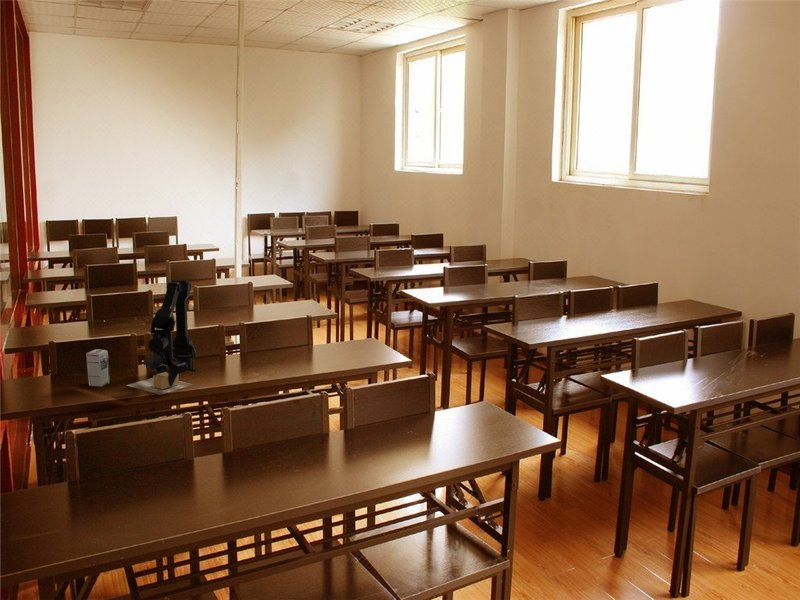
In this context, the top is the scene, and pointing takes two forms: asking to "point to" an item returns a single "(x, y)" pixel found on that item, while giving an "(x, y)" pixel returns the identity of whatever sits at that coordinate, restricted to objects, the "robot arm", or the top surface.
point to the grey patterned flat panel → (149, 386)
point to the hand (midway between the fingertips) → (166, 384)
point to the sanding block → (164, 381)
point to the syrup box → (98, 367)
